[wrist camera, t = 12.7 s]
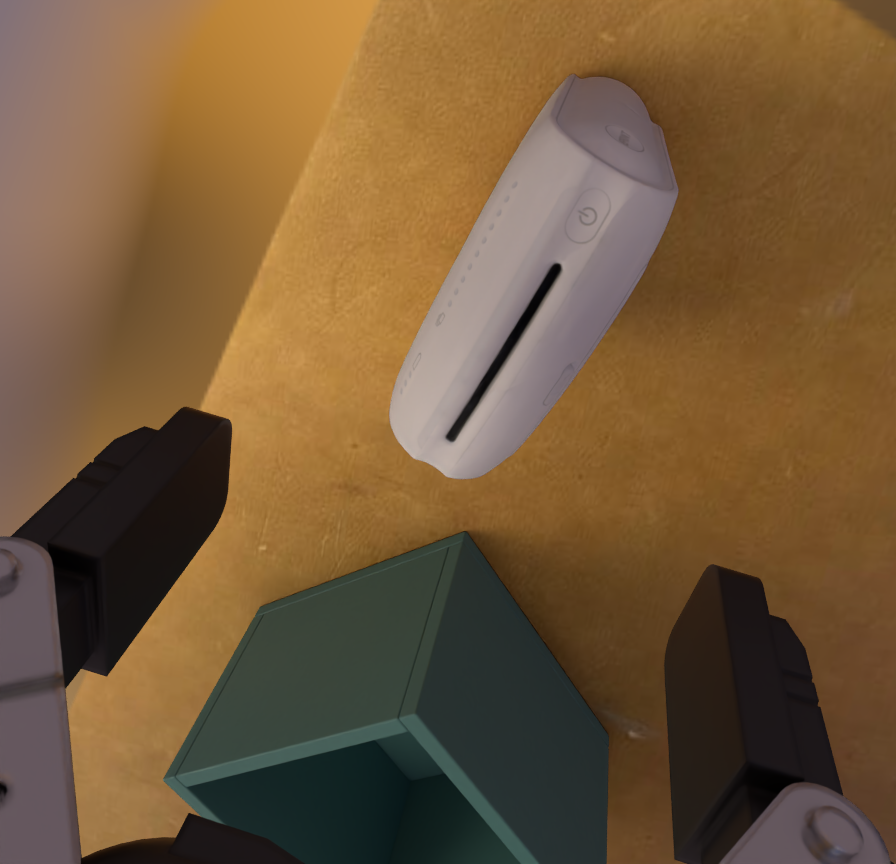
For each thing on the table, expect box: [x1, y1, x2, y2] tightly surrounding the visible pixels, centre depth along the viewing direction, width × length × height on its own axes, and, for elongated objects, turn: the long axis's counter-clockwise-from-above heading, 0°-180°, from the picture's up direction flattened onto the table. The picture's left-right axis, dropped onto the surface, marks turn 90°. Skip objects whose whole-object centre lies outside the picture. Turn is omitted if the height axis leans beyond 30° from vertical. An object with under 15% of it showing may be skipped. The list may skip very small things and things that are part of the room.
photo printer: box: [389, 74, 679, 479], centre depth 23 cm, size 10×4×12 cm, turn 153°
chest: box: [163, 532, 609, 864], centre depth 38 cm, size 16×14×11 cm
